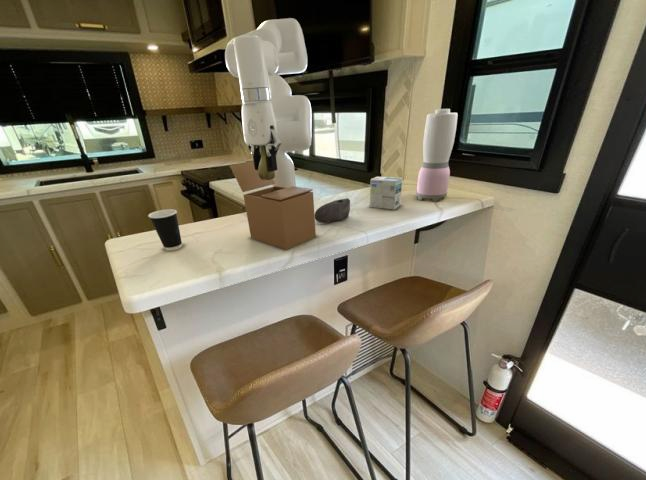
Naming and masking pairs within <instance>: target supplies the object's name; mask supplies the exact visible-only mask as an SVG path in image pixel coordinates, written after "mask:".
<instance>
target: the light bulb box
mask: <svg viewBox="0 0 646 480" xmlns="http://www.w3.org/2000/svg"><path fill="white" fill-rule="evenodd" d="M369 187H370V189H369V190H370V192H369V208H376V209H384V210H386V209H387V210H396V209H397V208H399V207H400V206H401V203H402V202H401V201H402V190H403V189H402V188H403V177H393V176H375V177H372V178H371V179H370V186H369Z"/></svg>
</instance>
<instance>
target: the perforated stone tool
mask: <svg viewBox="0 0 646 480" xmlns="http://www.w3.org/2000/svg"><path fill="white" fill-rule="evenodd" d="M350 212H351V199H349V198H348V197H346V198H340V199H337V200H333V201H330V202H327V203H325V204H323V205H321V206H319V207H318V208H317V209H316V210H315V211H314V216H315V222H318V223H321V224H326V223H332V222H338V221H339V222H340V221H341V220H344V219H347V218H349V215H350Z"/></svg>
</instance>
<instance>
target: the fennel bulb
mask: <svg viewBox="0 0 646 480" xmlns="http://www.w3.org/2000/svg"><path fill="white" fill-rule="evenodd" d="M267 156H268V155H267V152H266V149H265V146H264V145H261V159H260V162H259V167H258V175H259V177H260V178H261V179H262V180H271V179H273V178H274V177H275V171H271V172H269V171H268V168H267V160H266V157H267Z"/></svg>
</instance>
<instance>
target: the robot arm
mask: <svg viewBox="0 0 646 480" xmlns="http://www.w3.org/2000/svg"><path fill="white" fill-rule="evenodd" d="M224 61H225V65H226V68H227V70H228V72H229V73H230V74H231V75H232V76H233V77H234V78H238V81H239V88H240V95H241V100H242V104H241V122H242V123H241V124H242V131H243V139H244V143H245V145H246V146H247V148H248V149H249V151H250V154H251V156H252V161H254V167H255V170H258V167H259V162H260V159H261V145H264V146H265V149H266V152H267V155H268V156H267V157H266V160H267V168H268V171H269V172H271V171H275V177H274V178H273V180H274V182H275V184H273V185H270V187H273V186H279V187H285V188H288V187H292V186H295V187H297V184H296V173H295V165H294V162H293V160H292V158H291V157H290V156H289V154H287V153H288V152H303V151H307V150H309V149H310V147H311V145H312V117H313V116H312V106H311V102H310V100H309V98H308V96H306V95H302V94H295V95H292V88H291V87H290V85H289V84H288V82H287V81H286V80H285V79H284V78H283V77H282V76H281V75H292V74H301V73H304V72H306V70H307V67H308V53H307V47H306V43H305V37H304V33H303V29H302V27H301V24H300V22H298V20H297V19H296V18H294V17H293V18H292V17H288V18H279V19H276V18H275V19H268V20H265V21H263V22H261V24H260V25H259V26H258V27H257V28H256V29H253V30H250V31H249V32H247V33H243V34H241V35H238V36H235V37H233V38H232V39H230V40H229V42H228V43H227V45H226V47H225V51H224Z"/></svg>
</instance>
